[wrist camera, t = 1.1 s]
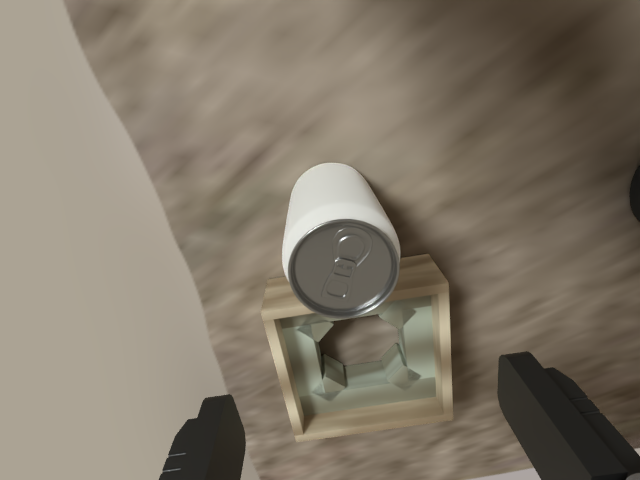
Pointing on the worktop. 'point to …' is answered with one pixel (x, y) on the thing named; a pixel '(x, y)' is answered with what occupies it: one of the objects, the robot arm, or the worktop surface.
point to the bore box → (368, 378)
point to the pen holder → (635, 194)
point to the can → (339, 244)
